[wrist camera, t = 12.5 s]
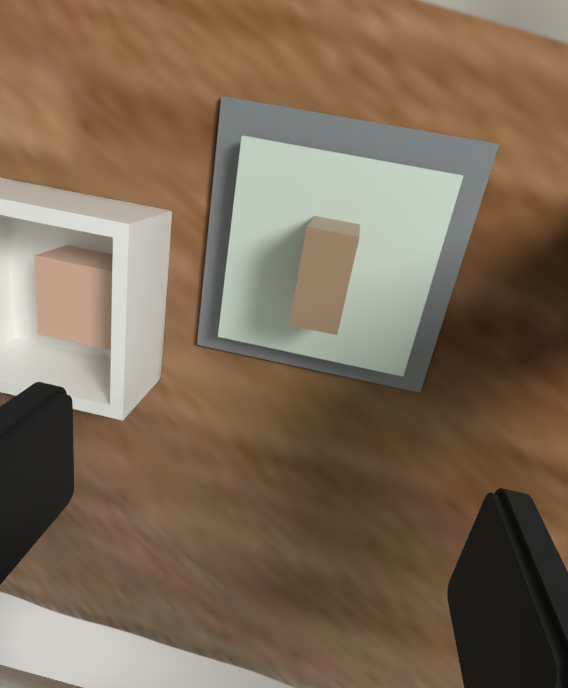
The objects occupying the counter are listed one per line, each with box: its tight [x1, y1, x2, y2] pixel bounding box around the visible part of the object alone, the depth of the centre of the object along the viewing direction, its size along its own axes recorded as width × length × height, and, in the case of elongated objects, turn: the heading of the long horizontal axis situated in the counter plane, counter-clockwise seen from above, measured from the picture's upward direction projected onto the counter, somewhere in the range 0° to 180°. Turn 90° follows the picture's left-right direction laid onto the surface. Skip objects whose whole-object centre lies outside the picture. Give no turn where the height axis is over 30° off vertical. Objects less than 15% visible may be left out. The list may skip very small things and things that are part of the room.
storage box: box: [0, 178, 172, 420], centre depth 35 cm, size 14×14×7 cm
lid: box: [218, 136, 463, 376], centre depth 31 cm, size 14×14×7 cm
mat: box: [197, 96, 499, 393], centre depth 34 cm, size 18×18×1 cm
